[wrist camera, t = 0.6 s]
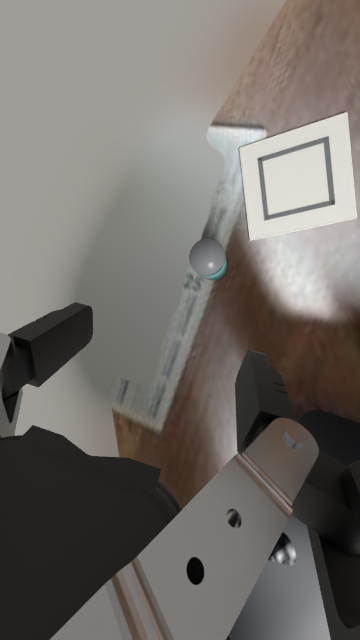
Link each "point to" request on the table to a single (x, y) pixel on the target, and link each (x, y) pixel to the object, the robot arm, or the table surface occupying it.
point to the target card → (299, 179)
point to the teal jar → (208, 259)
